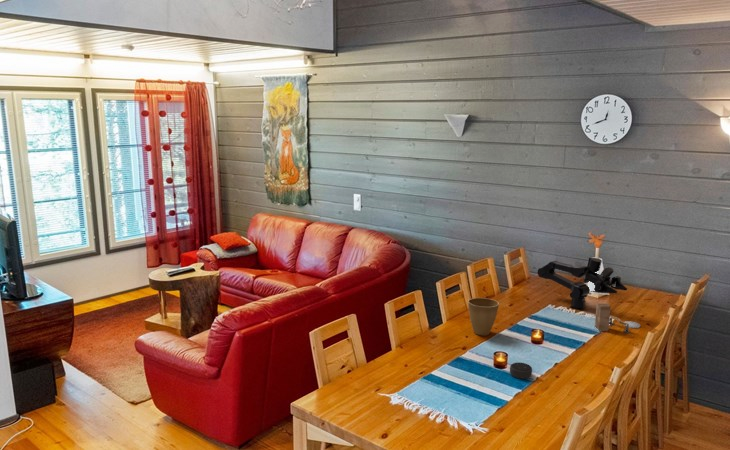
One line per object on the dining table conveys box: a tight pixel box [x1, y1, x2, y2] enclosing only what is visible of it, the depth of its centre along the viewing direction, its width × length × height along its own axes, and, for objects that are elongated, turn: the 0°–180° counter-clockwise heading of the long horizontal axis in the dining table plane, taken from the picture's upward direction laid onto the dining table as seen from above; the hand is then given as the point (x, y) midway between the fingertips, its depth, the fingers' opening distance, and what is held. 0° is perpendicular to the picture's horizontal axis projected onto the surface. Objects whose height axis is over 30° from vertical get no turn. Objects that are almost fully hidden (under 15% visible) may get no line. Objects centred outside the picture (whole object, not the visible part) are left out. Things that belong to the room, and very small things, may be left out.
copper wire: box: [609, 315, 631, 334], centre depth 302 cm, size 14×3×4 cm, turn 17°
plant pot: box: [467, 297, 500, 336], centre depth 292 cm, size 15×15×16 cm
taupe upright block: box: [594, 302, 611, 332], centre depth 299 cm, size 5×5×13 cm
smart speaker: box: [509, 362, 533, 380], centre depth 246 cm, size 9×9×4 cm
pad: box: [623, 320, 641, 329], centre depth 306 cm, size 8×8×1 cm
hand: (621, 290), depth 309 cm, fingers open, 9 cm apart
